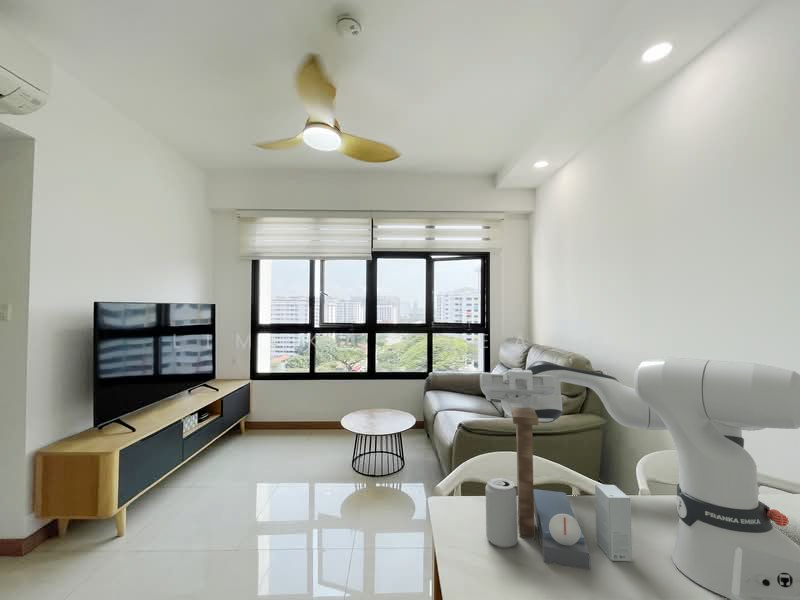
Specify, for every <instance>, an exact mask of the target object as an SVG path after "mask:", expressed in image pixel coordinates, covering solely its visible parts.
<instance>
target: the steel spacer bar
mask: <svg viewBox="0 0 800 600" xmlns="http://www.w3.org/2000/svg"><path fill="white" fill-rule="evenodd" d="M508 371H509V387H510V389H513V390H533V375H532V371H531V370H527V369H523V368H520V367H511V369H508Z"/></svg>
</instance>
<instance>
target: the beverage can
mask: <svg viewBox="0 0 800 600" xmlns="http://www.w3.org/2000/svg"><path fill="white" fill-rule="evenodd" d="M485 528H486V529H485V530H486V531H485V533H486V534H485V536H486V538H487V540H488V541H489V542H490V543H491V544H492V545H494V546H496V547H498V548H503V549H508V548H511V547H513V546H515V545H516V544H517V542H518V534H519V533H518V494H517V488H516V486H515V482H514V481H512V480H510V479H509V478H505V477H501V476H499V477H491V478H489V479H487V482H486V485H485Z"/></svg>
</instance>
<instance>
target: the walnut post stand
mask: <svg viewBox="0 0 800 600" xmlns="http://www.w3.org/2000/svg"><path fill="white" fill-rule="evenodd" d="M511 413H512V417H511V419H512V423H513V425H515V428H516V430H515V433H516V477H517V478H516V480H517V481H516V485H517V488H516V491H517V526H518V534H519V537H521V538H529V539H535V515H534V490H533V489H534V446H533V444H534V443H533V426H539V423H538V417H537V415H536V412H535V410H534V408H523V407H511Z"/></svg>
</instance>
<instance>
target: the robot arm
mask: <svg viewBox="0 0 800 600" xmlns="http://www.w3.org/2000/svg"><path fill="white" fill-rule="evenodd" d="M526 370H531V371H532V375H533V390H513V389H510V387H509V370H507V371H506V372H505V373H480V375H479V387H480V390H481V392H482V394H483V395H485V399H486V401H490V402H493V403H494V402H495V403H499V404H500V405H501V408H502V410H503V411H504V414H506V415H507V416H508V417H511V418H512V413H511V407H523V408H534V410H535V412H536V415H537V417H538V424H549V423H553V422H555V421H557V420H558V419H559V418H561V416H562V415H563V399H562V393H561V392H562V390H561V383H567V384H572V385H576V386H581V387H587V388H589V389H590V390H592V391H594V393H595V394H596V395H597V396H598V397H599V399H600V401H601V403H602V404H603V406H604V408H605V410H606V412H607V413H608V415H610V417H611V418H612V419H613V420H614V421H615V422H616V423H618V424H619V425H621V426H623V427H626V428H629V429H636V430H646V431H647V430H648V431H668V433H669V434H670V437H671V439H672V440H673V444H674V447H675V453H676V458H677V459H676V460H677V468H678V469H677V470H678V483H677V484H676V497H675V499H676V508H677V509H676V510H677V516H678V519H679V521H678V529H677V535H676V541H675V545H674V547H673V551H672V553H671V559H672V560H671V561H672V562H673V564H674V565H675V566H676V567H677V568H678V570H679V571H681V573H682V574H683V575H685V576H686V577H687V578H688V579H690V580H692V581H693V582H695V583H696V584H698V585H700V586H701V587H703V588H705V589H707V590H709V591H711V592H713V593H716V594H718V595H721V596H722V597H725V598H727V599H728V600H800V545H798V544H797V543H796V542H795V541H794V540H792V539H791V538H789V537H788V536H787V535H786V534H785V533H783V532H781V531H780V529H778V528H776V527H775V526H774V525H773V524H772V522H774V523H775V524H776V525H777V526H779V527H783V528H784V527H787V526H788V525H789V522H790V519H789V517H787V516H786V515H785V514H783V513H781V512H780V511H779V510H778V509H775V508H774V509H771V508H770V507H769V505H767V504H765V503H763V502H762V501H761V500H759V489H758V488H759V487H758V473H757V472H758V470H757V469H758V468H757V463H756V461H755V460H754V458H753V457H752V455H751V454H750V453H749V452H748V451H747V449H745V448H744V447H745V439H744V438H743V434H742V431H747V432H749V431H753V432H754V431H760V430H764V429H766V428H767V429H781V430H782V429H786V430H787V429H790V430H798V429H800V374H799V373H797V371H794V370H790V369H785V368H781V367H776V366H771V365H767V364H761V363H755V362H754V363H753V362H742V361H728V360H727V361H726V360H724V361H723V360H712V359H701V358H685V357H671V356H670V357H668V356H667V357H659V358H658V357H657V358H650V359H648V358H647V359H644V360H642V362H640V363H639V365H637V367H636V369H635V371H634V373H633V377H632V382H633V387H630V386H627V385H625V384H623V383H621V382H620V381H619V380H618V379H617V378H616V377H614V376H612V375H608V374H604V373H601V372H595V371H592V370H591V371H589V370H586V369H580V368H574V367H570V366H569V367H568V366H564V365H560V364H556V363H554V362H550V361H545V360H538V361H537V360H536V361H534V362H532V363H531V364H530V365H529V366H528V368H526ZM771 521H772V522H771Z"/></svg>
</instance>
